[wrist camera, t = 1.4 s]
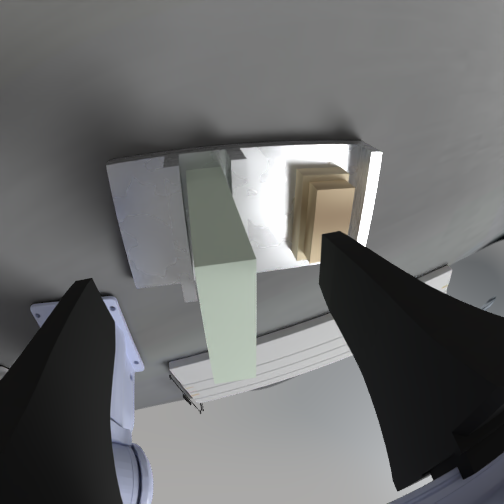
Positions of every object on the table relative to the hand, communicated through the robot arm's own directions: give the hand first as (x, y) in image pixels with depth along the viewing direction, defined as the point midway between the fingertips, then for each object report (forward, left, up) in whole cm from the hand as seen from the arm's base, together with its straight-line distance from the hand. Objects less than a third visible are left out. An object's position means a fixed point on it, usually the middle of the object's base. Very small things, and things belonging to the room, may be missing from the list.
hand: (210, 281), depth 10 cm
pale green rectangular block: (-3, -1, -10) cm, 10 cm away
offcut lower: (-3, -8, -10) cm, 13 cm away
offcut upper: (-3, -8, -8) cm, 12 cm away
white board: (-20, -11, -11) cm, 26 cm away
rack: (-3, -3, -11) cm, 12 cm away
